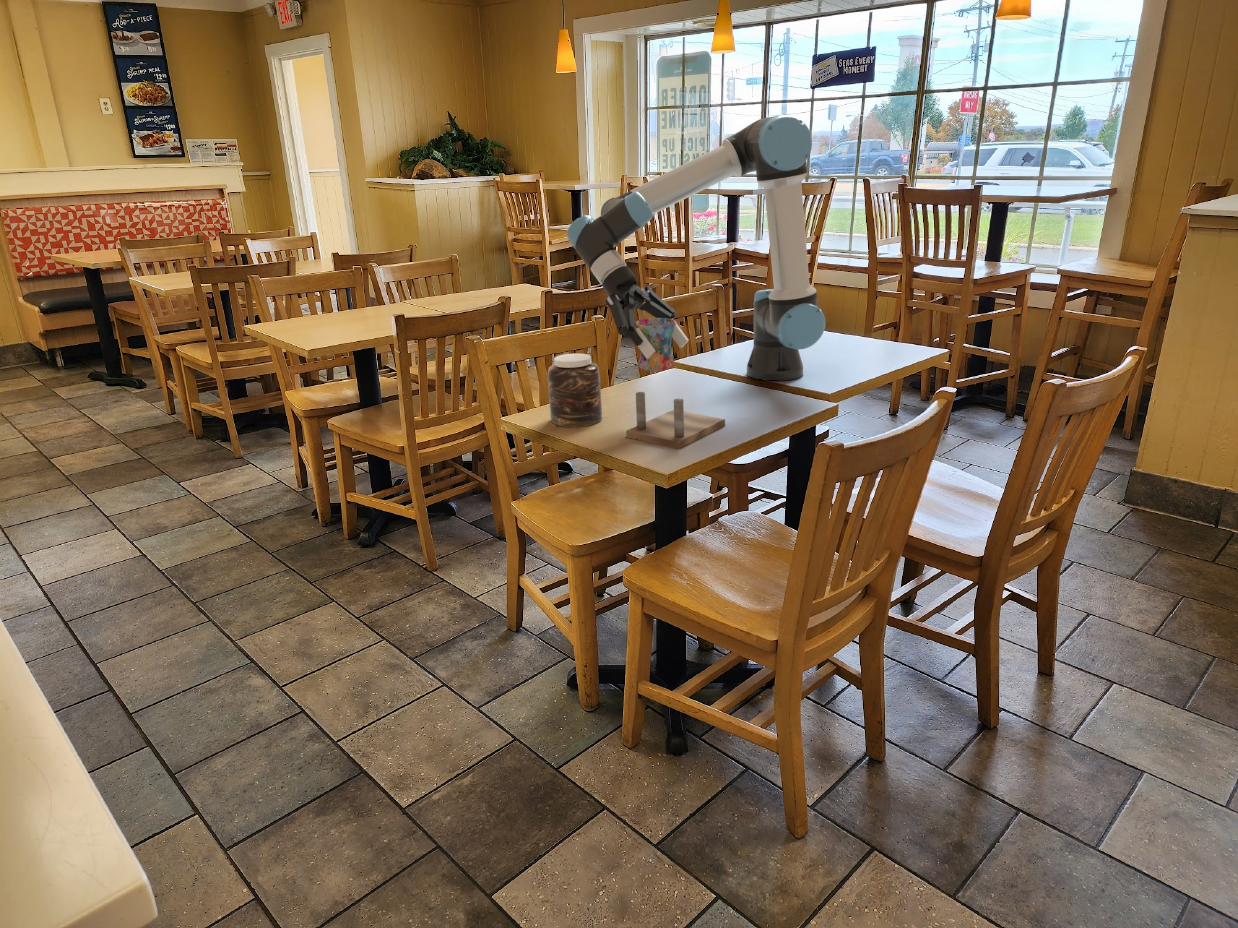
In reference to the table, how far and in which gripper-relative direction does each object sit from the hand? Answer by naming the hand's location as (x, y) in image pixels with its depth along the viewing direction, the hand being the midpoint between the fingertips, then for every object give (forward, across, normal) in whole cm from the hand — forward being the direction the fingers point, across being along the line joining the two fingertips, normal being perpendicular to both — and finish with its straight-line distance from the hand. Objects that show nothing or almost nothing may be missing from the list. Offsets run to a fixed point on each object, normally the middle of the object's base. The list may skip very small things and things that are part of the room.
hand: (668, 349), depth 182 cm
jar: (-1, +13, -24) cm, 27 cm away
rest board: (+16, +7, -6) cm, 19 cm away
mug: (+1, 0, -5) cm, 5 cm away
